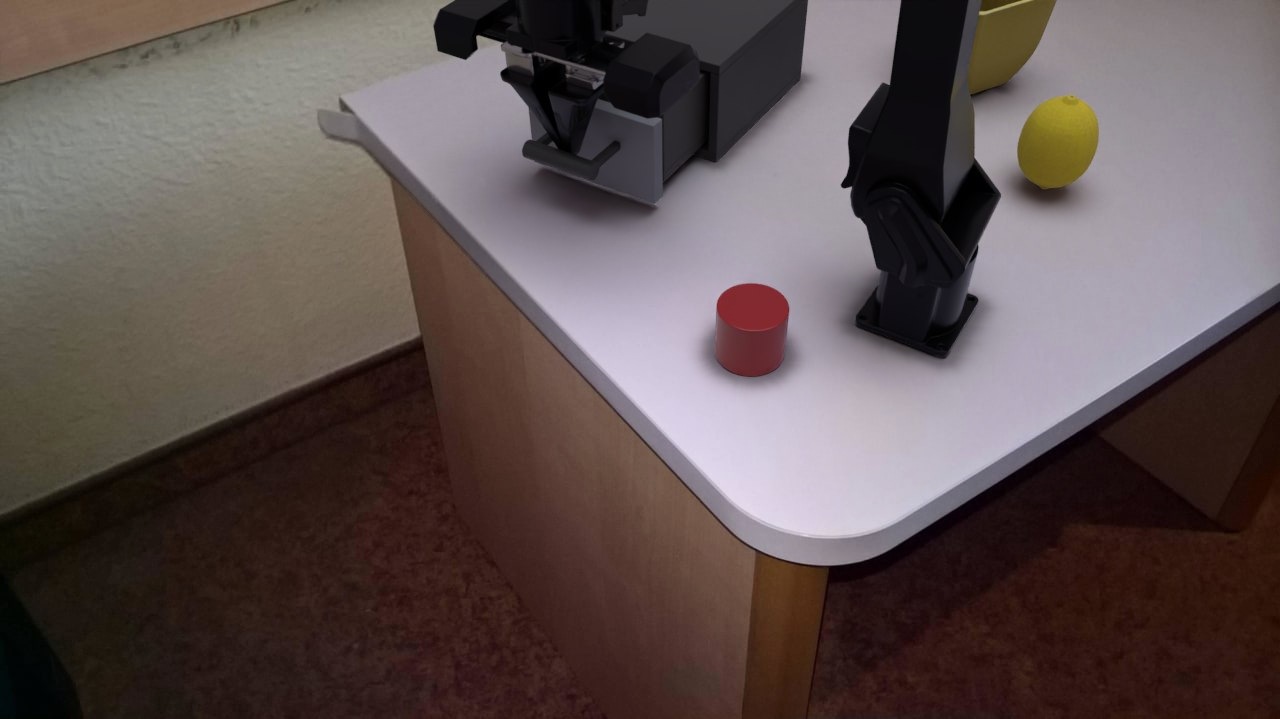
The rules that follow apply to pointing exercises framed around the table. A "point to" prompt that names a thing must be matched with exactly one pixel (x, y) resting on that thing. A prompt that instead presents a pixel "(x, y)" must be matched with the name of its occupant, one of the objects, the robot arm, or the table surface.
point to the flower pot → (1005, 39)
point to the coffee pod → (751, 329)
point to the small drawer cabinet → (731, 55)
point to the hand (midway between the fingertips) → (571, 154)
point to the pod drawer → (630, 144)
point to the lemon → (1058, 142)
